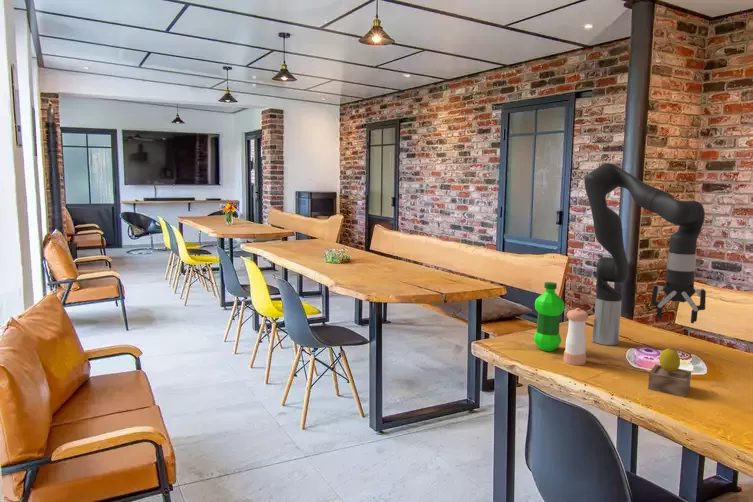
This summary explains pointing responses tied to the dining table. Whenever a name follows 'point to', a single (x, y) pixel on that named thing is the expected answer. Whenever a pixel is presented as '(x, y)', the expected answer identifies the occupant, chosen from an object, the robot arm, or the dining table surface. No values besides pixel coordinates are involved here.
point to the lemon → (669, 360)
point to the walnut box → (669, 381)
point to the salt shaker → (576, 338)
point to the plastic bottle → (548, 318)
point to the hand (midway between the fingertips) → (676, 320)
